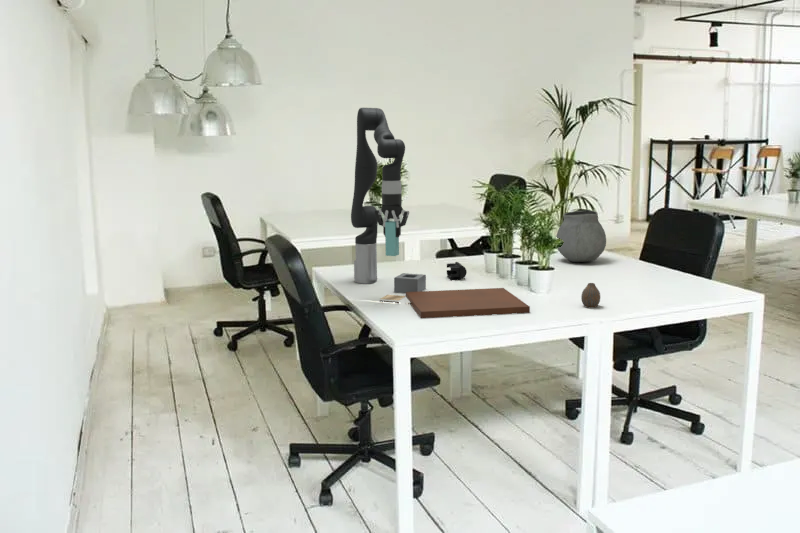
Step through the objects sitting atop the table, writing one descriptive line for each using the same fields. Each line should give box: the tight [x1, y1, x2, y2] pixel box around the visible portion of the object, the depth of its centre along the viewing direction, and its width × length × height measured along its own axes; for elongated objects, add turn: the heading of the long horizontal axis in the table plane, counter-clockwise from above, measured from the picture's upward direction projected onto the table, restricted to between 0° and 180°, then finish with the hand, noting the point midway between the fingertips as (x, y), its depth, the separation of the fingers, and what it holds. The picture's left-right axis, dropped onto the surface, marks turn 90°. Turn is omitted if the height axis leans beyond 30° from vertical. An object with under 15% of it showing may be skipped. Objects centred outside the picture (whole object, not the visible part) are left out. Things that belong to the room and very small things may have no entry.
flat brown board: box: [405, 287, 531, 319], centre depth 286 cm, size 40×3×33 cm
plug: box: [384, 220, 400, 257], centre depth 291 cm, size 4×4×13 cm
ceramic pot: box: [555, 210, 607, 263], centre depth 371 cm, size 24×24×25 cm
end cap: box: [446, 261, 468, 281], centre depth 336 cm, size 10×7×7 cm
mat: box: [379, 294, 407, 304], centre depth 295 cm, size 8×8×1 cm
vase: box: [580, 282, 601, 308], centre depth 281 cm, size 7×7×9 cm
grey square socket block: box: [393, 272, 427, 294], centre depth 307 cm, size 10×10×7 cm
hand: (392, 236), depth 291 cm, fingers closed on plug, 4 cm apart
